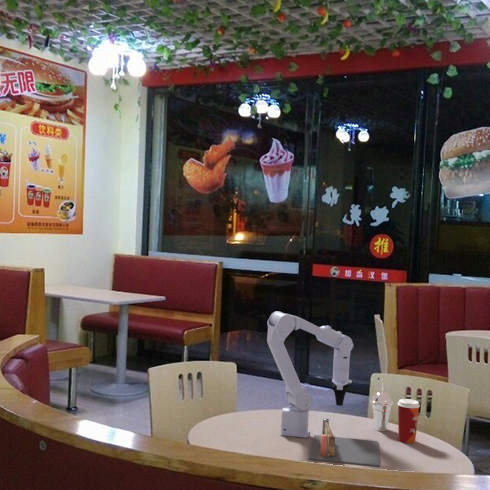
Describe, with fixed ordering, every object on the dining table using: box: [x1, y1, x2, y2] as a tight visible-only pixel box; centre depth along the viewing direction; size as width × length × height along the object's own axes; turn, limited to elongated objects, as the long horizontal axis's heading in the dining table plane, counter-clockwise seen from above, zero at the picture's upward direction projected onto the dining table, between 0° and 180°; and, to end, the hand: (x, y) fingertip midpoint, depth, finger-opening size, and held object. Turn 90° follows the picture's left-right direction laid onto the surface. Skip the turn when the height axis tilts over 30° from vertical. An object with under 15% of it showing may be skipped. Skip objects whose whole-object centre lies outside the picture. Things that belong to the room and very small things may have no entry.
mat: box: [308, 434, 380, 468], centre depth 221 cm, size 22×24×1 cm
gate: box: [324, 422, 336, 456], centre depth 220 cm, size 16×2×6 cm, turn 0°
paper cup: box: [397, 398, 421, 444], centre depth 234 cm, size 8×8×14 cm
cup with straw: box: [369, 377, 394, 432], centre depth 246 cm, size 8×9×20 cm
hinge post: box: [321, 418, 330, 435], centre depth 230 cm, size 2×2×8 cm
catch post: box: [320, 434, 329, 457], centre depth 214 cm, size 2×2×7 cm
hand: (339, 405), depth 242 cm, fingers closed
